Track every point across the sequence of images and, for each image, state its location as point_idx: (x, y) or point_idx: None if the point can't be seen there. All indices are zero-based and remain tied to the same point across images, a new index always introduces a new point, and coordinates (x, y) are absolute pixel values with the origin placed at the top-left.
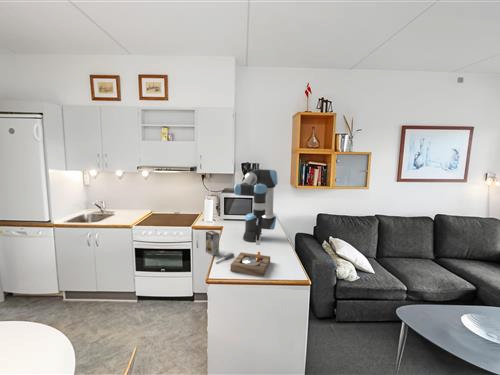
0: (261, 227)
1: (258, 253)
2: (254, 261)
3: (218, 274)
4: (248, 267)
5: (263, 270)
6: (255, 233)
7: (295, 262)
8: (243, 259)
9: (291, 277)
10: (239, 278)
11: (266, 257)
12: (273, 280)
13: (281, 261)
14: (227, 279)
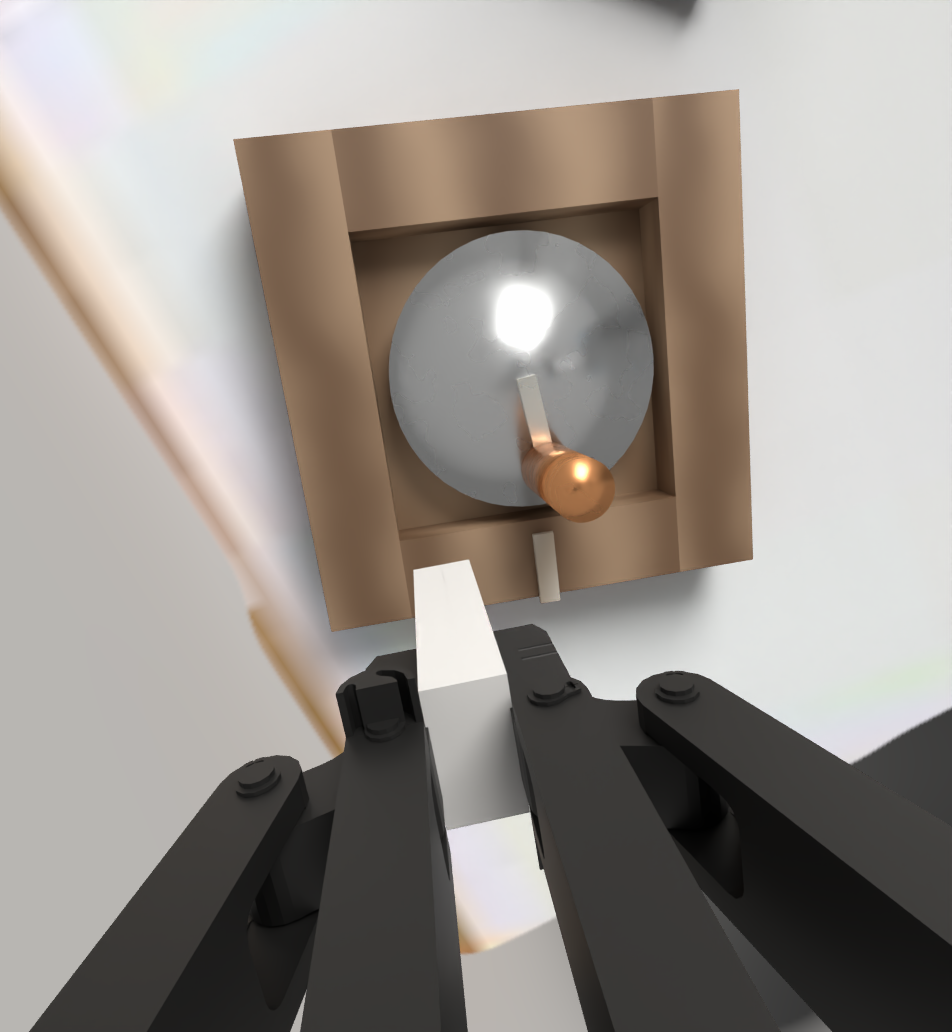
0: (808, 991)
1: (553, 502)
2: (511, 428)
3: (74, 52)
4: (295, 430)
5: (331, 627)
6: (183, 838)
7: None
8: (502, 250)
9: (464, 840)
10: (143, 374)
11: (702, 524)
12: (313, 720)
13: (780, 641)
14: (29, 243)
